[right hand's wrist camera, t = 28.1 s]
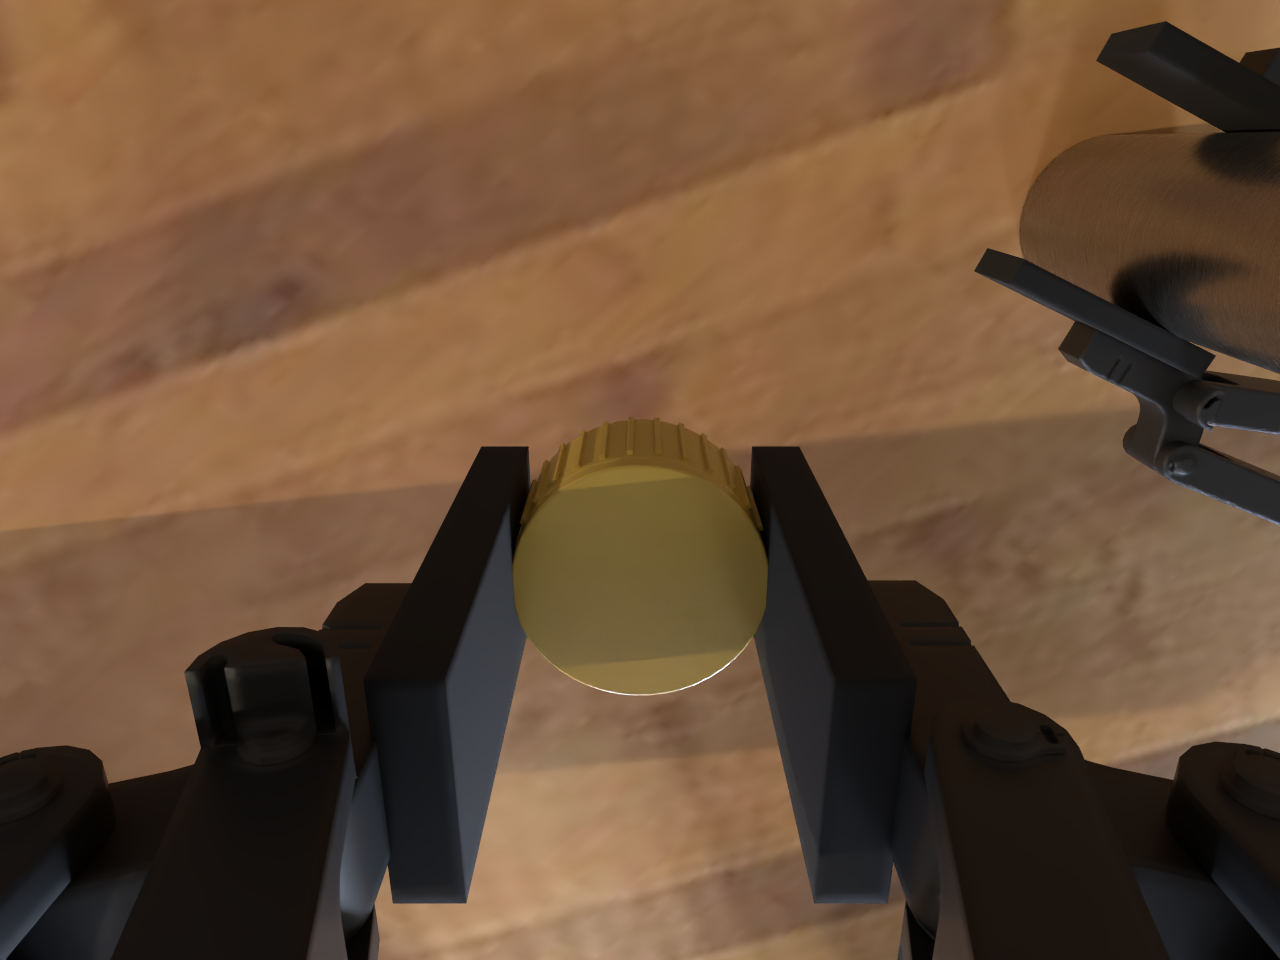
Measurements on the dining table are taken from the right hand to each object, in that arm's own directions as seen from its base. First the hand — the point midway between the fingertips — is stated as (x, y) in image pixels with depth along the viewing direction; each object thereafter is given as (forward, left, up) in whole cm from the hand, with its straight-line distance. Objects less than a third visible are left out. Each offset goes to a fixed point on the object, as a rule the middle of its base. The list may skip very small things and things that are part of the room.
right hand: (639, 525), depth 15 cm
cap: (0, 0, +2) cm, 2 cm away
